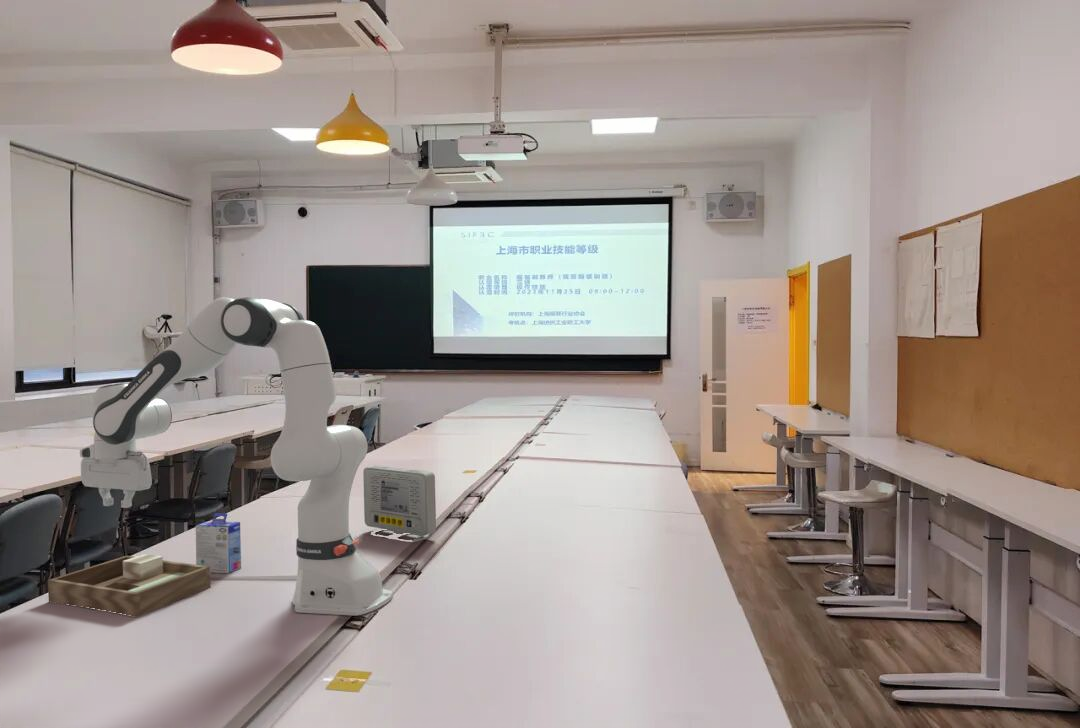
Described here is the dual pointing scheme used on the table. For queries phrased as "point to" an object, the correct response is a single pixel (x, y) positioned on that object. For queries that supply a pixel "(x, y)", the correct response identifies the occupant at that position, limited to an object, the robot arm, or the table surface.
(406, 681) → the table surface
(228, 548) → the ink cartridge box
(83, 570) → the box
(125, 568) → the block
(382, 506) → the network device
